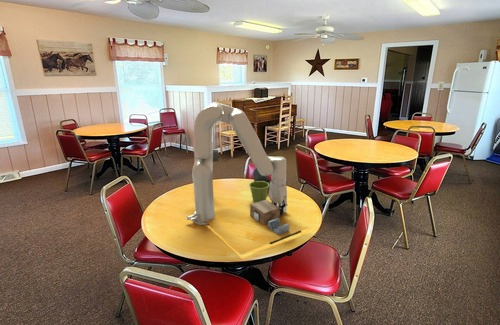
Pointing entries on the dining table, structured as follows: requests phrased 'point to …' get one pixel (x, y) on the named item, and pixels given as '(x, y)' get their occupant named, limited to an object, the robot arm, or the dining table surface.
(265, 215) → the slotted wooden block
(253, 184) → the plant pot
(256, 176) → the portable speaker
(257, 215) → the rectangular steel bar
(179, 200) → the dining table surface
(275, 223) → the v-block
